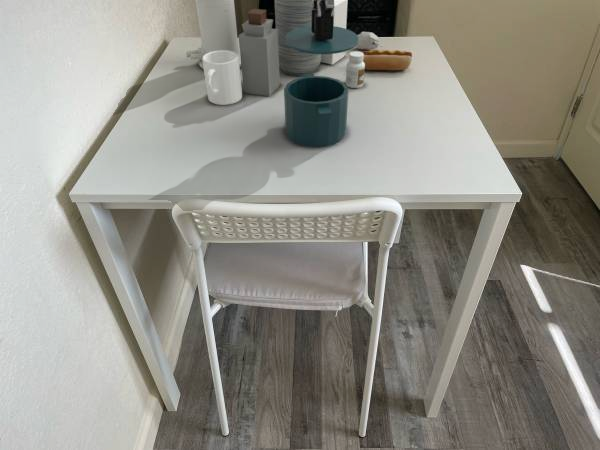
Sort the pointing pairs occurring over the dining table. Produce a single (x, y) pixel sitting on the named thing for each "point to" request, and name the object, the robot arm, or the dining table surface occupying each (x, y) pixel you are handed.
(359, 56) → the pill bottle
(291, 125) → the pot
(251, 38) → the perfume bottle
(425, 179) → the dining table surface
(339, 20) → the milk carton
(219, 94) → the mug
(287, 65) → the vase
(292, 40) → the lid
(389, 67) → the food
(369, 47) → the figurine
